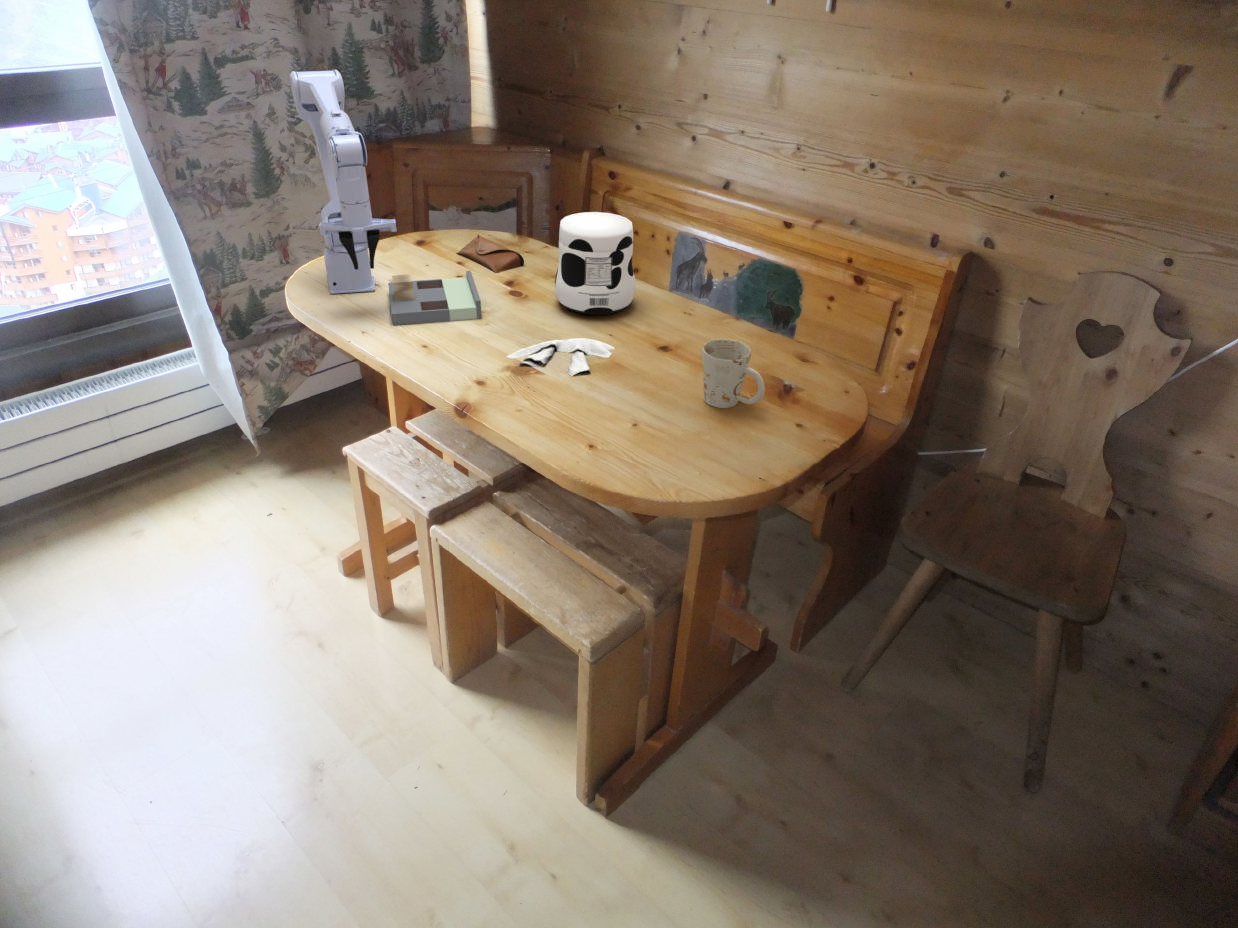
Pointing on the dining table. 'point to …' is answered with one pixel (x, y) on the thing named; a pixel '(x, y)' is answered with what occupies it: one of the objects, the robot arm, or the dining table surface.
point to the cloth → (576, 345)
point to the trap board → (438, 301)
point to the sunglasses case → (491, 255)
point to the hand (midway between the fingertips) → (364, 267)
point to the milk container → (595, 263)
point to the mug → (727, 373)
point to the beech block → (403, 287)
